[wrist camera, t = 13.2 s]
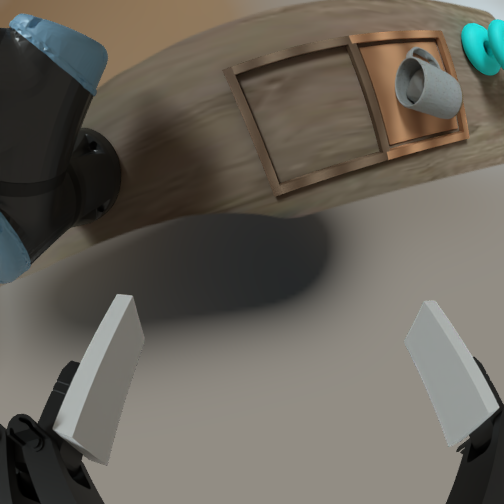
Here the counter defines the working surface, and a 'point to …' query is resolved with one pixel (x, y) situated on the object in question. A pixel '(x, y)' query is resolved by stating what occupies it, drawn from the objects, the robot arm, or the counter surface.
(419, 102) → the ceramic mug
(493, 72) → the donuts
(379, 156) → the tray
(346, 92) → the counter surface
